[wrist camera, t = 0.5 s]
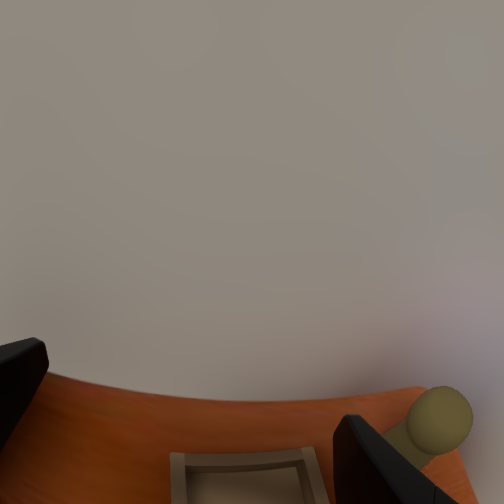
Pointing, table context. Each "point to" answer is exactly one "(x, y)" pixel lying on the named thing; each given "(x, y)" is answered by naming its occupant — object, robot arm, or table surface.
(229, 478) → the track
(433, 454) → the olive pawn figure
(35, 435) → the table surface
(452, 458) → the table surface
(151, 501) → the table surface
